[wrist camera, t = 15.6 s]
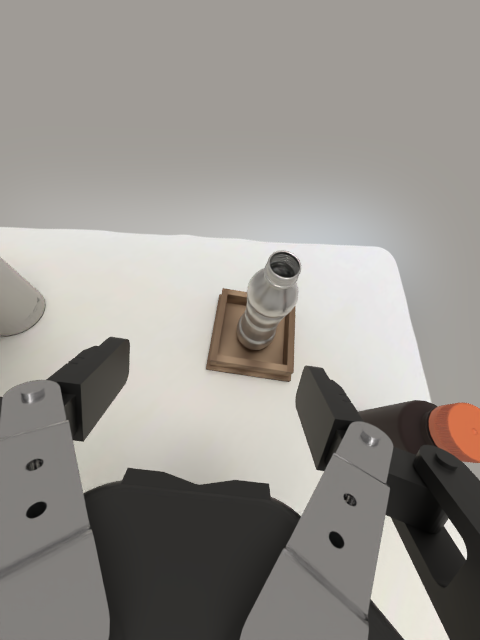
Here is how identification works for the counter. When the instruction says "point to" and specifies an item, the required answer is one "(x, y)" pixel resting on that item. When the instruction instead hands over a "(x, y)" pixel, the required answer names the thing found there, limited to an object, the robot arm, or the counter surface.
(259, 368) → the square wooden tray
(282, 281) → the silver metal bottle
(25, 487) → the robot arm
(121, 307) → the counter surface
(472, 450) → the vinegar
